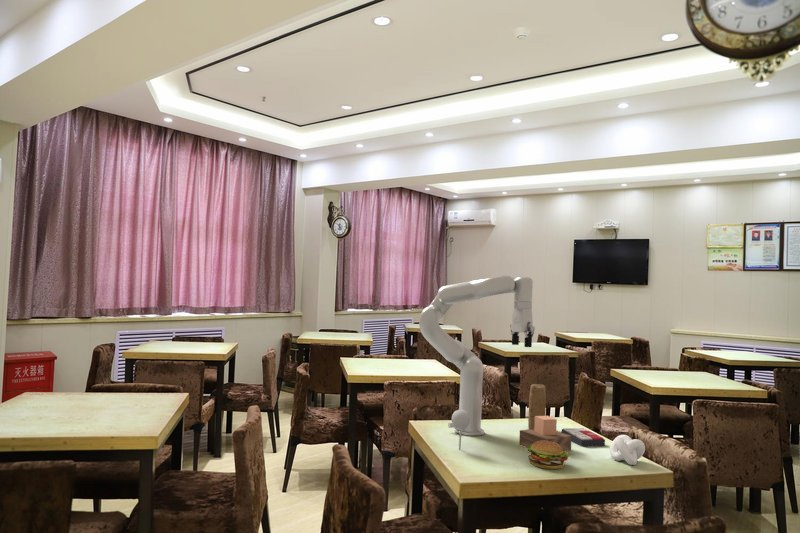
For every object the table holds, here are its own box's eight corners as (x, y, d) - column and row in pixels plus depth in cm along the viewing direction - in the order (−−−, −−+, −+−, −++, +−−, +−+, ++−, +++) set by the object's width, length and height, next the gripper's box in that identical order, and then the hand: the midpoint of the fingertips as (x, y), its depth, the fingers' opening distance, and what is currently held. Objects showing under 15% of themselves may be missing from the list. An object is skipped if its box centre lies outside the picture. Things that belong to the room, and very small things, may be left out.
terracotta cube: (543, 435, 201) (543, 419, 201) (534, 431, 207) (534, 416, 207) (556, 434, 203) (556, 419, 203) (546, 430, 208) (547, 415, 209)
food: (576, 469, 179) (577, 446, 179) (540, 471, 175) (541, 447, 175) (553, 457, 192) (554, 435, 192) (520, 459, 188) (520, 436, 188)
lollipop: (458, 446, 200) (459, 406, 201) (473, 450, 195) (474, 410, 196) (446, 449, 195) (448, 408, 196) (461, 453, 190) (462, 412, 191)
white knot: (600, 458, 193) (601, 434, 194) (622, 455, 199) (622, 431, 200) (627, 468, 184) (627, 442, 184) (648, 464, 189) (649, 439, 190)
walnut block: (546, 455, 195) (546, 439, 195) (519, 445, 207) (519, 430, 207) (571, 451, 202) (571, 435, 203) (543, 441, 214) (543, 427, 214)
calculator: (582, 438, 208) (561, 427, 223) (581, 449, 208) (560, 437, 223) (605, 437, 211) (583, 426, 226) (605, 448, 211) (582, 436, 226)
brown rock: (545, 433, 227) (546, 387, 229) (527, 431, 229) (529, 385, 231) (544, 427, 238) (546, 383, 239) (528, 425, 240) (529, 382, 241)
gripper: (504, 304, 229) (503, 343, 228) (526, 306, 213) (525, 347, 212) (519, 305, 232) (517, 344, 230) (542, 306, 215) (540, 348, 214)
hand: (521, 345), depth 221 cm, fingers open, 9 cm apart
